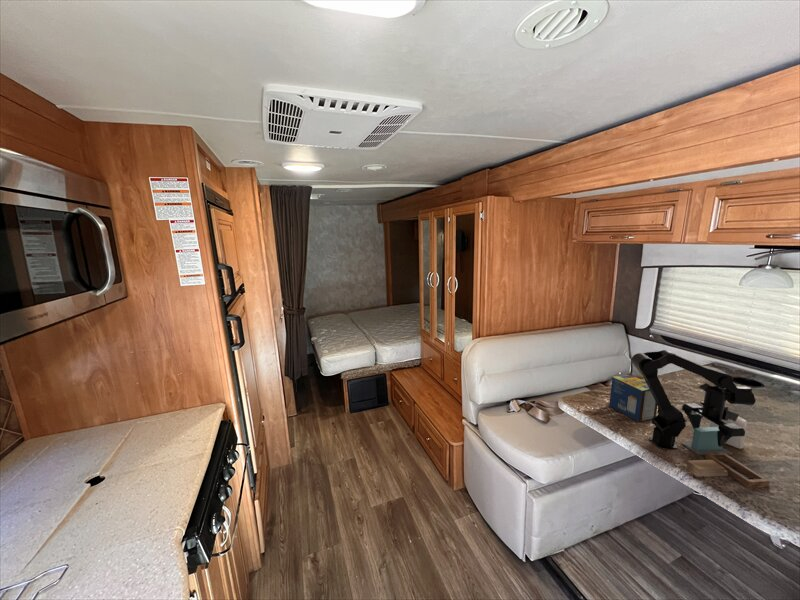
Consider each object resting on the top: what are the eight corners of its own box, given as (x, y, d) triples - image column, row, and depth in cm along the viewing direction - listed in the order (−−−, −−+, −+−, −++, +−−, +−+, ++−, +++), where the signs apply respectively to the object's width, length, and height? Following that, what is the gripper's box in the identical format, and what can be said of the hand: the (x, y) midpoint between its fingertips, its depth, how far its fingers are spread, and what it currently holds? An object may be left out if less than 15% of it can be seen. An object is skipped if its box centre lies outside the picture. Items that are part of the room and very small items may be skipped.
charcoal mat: (698, 455, 118) (698, 454, 117) (681, 443, 124) (681, 442, 124) (731, 454, 118) (731, 453, 118) (712, 442, 125) (713, 441, 125)
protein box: (624, 402, 157) (628, 373, 154) (656, 418, 142) (660, 387, 140) (608, 405, 155) (611, 376, 152) (638, 422, 140) (642, 390, 137)
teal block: (722, 449, 120) (725, 430, 119) (697, 450, 120) (700, 431, 118) (715, 445, 122) (719, 427, 121) (691, 446, 122) (694, 428, 121)
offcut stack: (683, 467, 112) (684, 460, 112) (713, 466, 112) (714, 459, 112) (697, 477, 107) (698, 470, 107) (727, 476, 108) (729, 469, 107)
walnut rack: (747, 487, 102) (748, 482, 102) (704, 458, 116) (705, 453, 116) (768, 486, 102) (769, 481, 102) (723, 457, 116) (724, 452, 116)
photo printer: (705, 436, 129) (710, 409, 127) (709, 433, 131) (714, 406, 129) (741, 450, 120) (746, 421, 118) (744, 446, 122) (750, 418, 120)
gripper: (764, 414, 109) (755, 454, 111) (709, 389, 127) (703, 424, 130) (733, 415, 108) (725, 455, 111) (683, 390, 127) (678, 425, 129)
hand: (707, 438), depth 120 cm, fingers open, 9 cm apart
